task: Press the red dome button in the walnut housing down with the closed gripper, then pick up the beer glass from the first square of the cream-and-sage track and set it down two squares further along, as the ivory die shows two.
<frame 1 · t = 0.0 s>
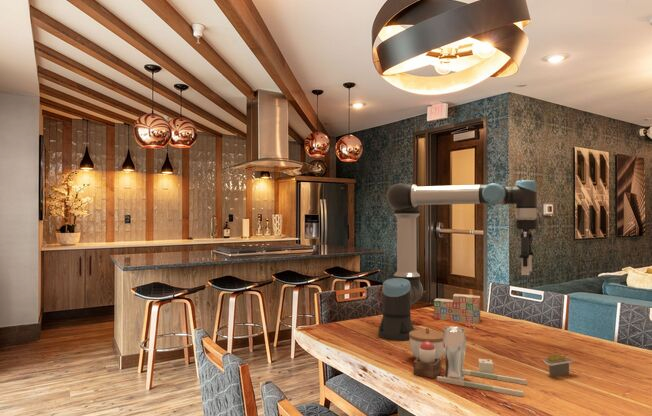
hand: (526, 273, 171), 28 cm above the table, tool pointing down, fingers open, 13 cm apart
button housing: (427, 372, 139), on the table
dome button: (427, 352, 139), point 6 cm above the table, slide at 0.0 cm
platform: (557, 376, 138), on the table
stack of blocks: (457, 320, 211), on the table
die: (485, 373, 139), on the table
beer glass: (454, 378, 135), on the table
lidded bowl: (427, 360, 152), on the table
track: (481, 382, 131), on the table
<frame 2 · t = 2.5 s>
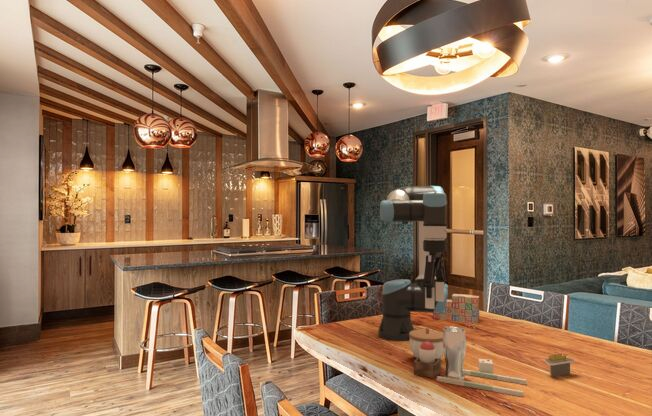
hand: (435, 304, 141), 21 cm above the table, tool pointing down, fingers open, 13 cm apart
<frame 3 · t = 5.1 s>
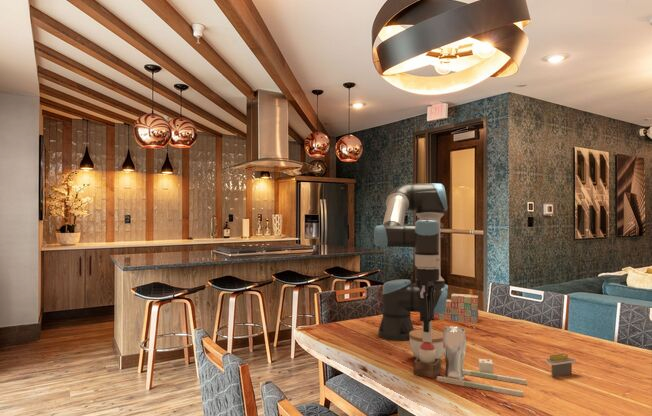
hand: (427, 341, 139), 10 cm above the table, tool pointing down, fingers closed
dome button: (427, 352, 139), point 6 cm above the table, slide at -0.1 cm, touching gripper
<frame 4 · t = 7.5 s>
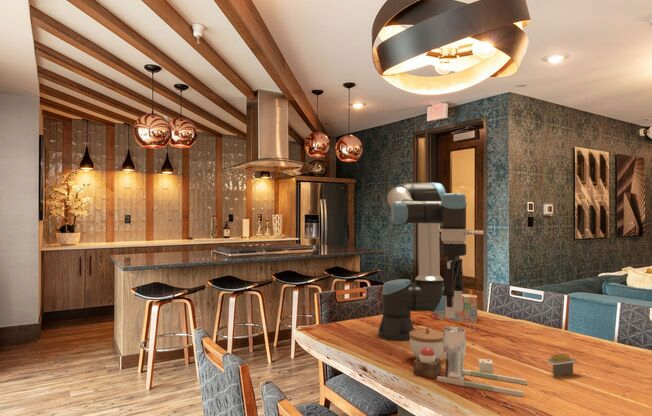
hand: (454, 314, 135), 20 cm above the table, tool pointing down, fingers open, 9 cm apart
dome button: (427, 358, 139), point 5 cm above the table, slide at -1.9 cm
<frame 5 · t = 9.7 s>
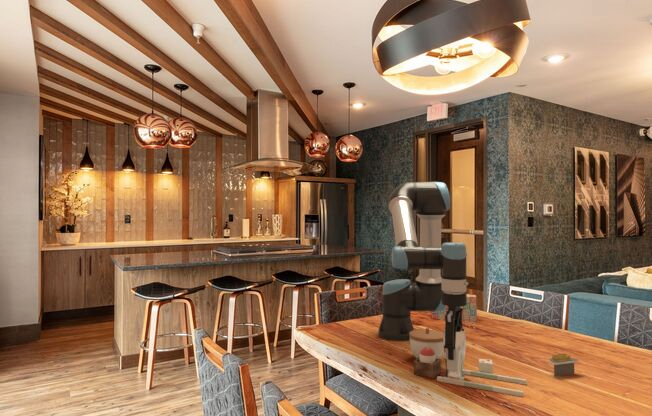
hand: (454, 366, 135), 4 cm above the table, tool pointing down, fingers closed on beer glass, 7 cm apart
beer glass: (454, 378, 135), on the table, touching gripper
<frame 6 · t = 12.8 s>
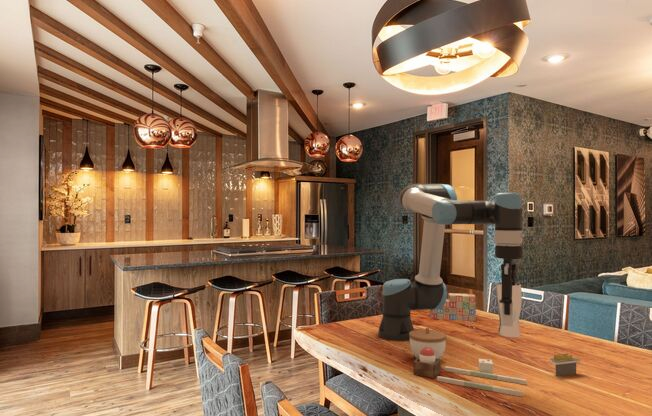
hand: (509, 322, 128), 19 cm above the table, tool pointing down, fingers closed on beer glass, 7 cm apart
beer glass: (509, 335, 128), point 15 cm above the table, touching gripper
when the fingers open (5 cm above the table, at t = 15.7 s): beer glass drops 1 cm, on the table.
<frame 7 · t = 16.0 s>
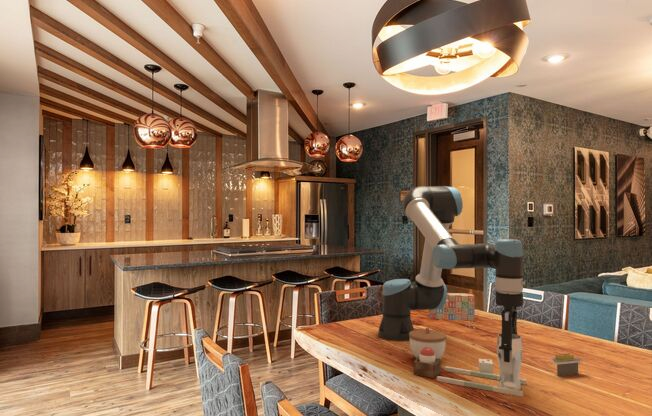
hand: (509, 366, 127), 6 cm above the table, tool pointing down, fingers open, 11 cm apart
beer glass: (509, 387, 127), on the table
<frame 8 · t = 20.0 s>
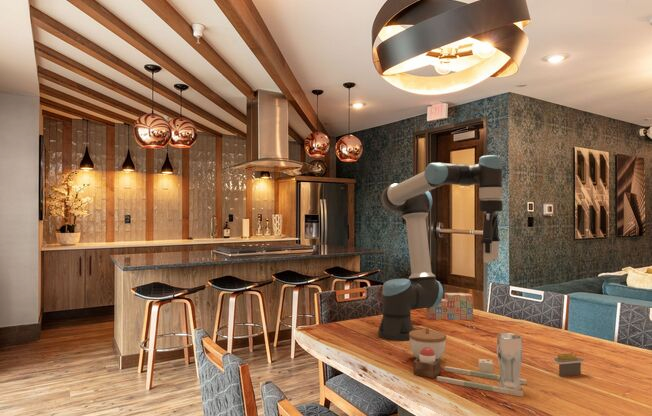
hand: (491, 261, 151), 35 cm above the table, tool pointing down, fingers open, 13 cm apart
at the end: dome button slide at -1.9 cm; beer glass inside the target area (0.1 cm from its centre), on the table; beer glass tilted 0° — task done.
